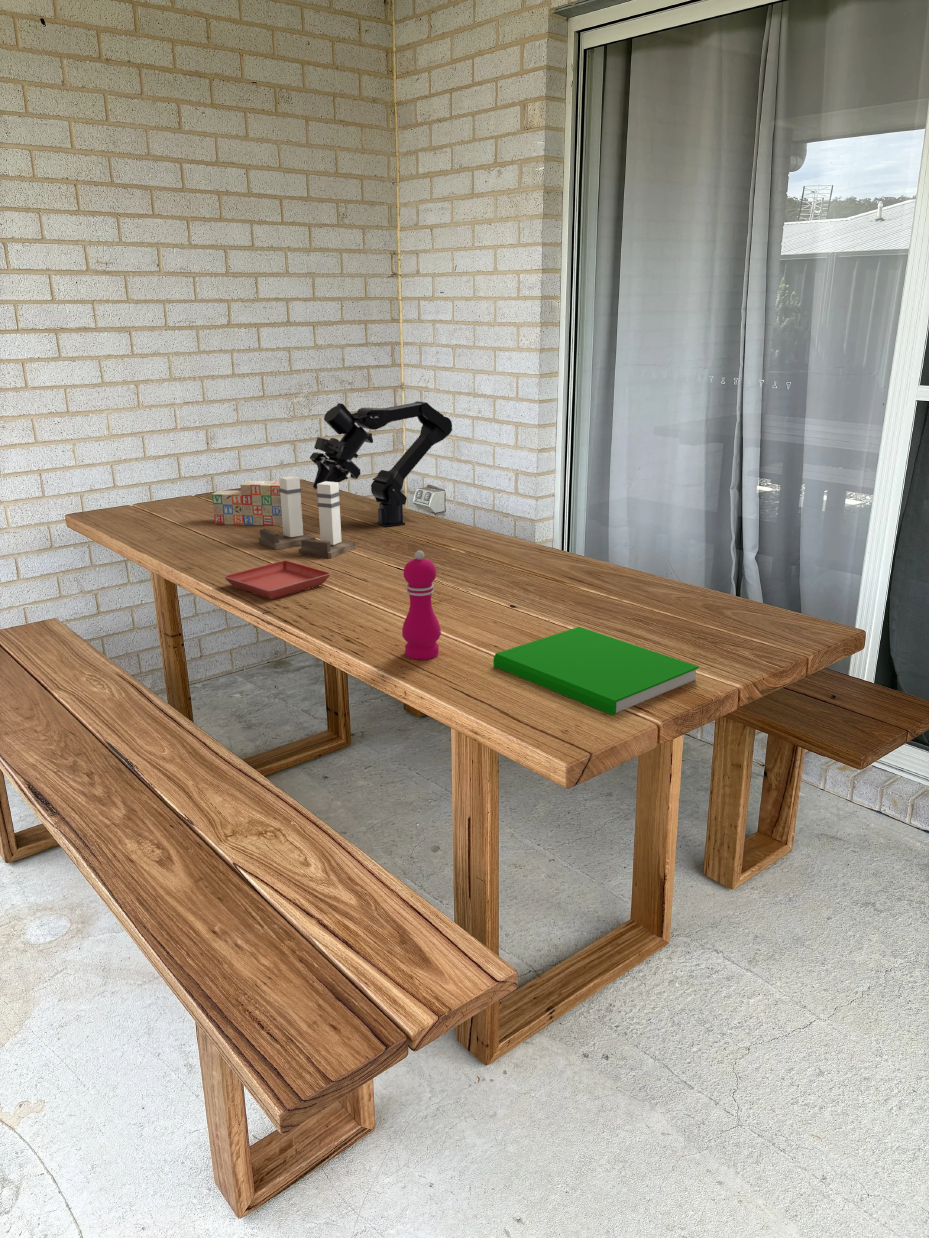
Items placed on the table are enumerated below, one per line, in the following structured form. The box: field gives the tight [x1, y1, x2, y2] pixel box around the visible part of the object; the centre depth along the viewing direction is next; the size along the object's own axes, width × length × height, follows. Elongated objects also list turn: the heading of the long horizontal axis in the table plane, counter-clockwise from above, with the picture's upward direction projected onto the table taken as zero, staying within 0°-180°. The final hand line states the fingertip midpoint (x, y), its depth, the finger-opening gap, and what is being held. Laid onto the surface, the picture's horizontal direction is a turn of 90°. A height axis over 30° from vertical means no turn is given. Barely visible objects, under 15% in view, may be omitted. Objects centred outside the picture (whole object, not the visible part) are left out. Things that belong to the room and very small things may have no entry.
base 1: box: [258, 528, 316, 550], centre depth 257 cm, size 12×10×4 cm
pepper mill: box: [401, 550, 442, 660], centre depth 172 cm, size 7×7×20 cm
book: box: [493, 626, 700, 716], centre depth 165 cm, size 22×28×3 cm
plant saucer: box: [223, 560, 332, 600], centre depth 218 cm, size 18×18×3 cm
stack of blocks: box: [211, 480, 283, 526], centre depth 281 cm, size 21×6×12 cm, turn 83°
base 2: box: [298, 539, 356, 559], centre depth 248 cm, size 12×10×4 cm
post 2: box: [316, 481, 343, 545], centre depth 247 cm, size 4×4×16 cm
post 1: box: [278, 475, 304, 537], centre depth 256 cm, size 4×4×16 cm
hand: (317, 489), depth 260 cm, fingers open, 3 cm apart
